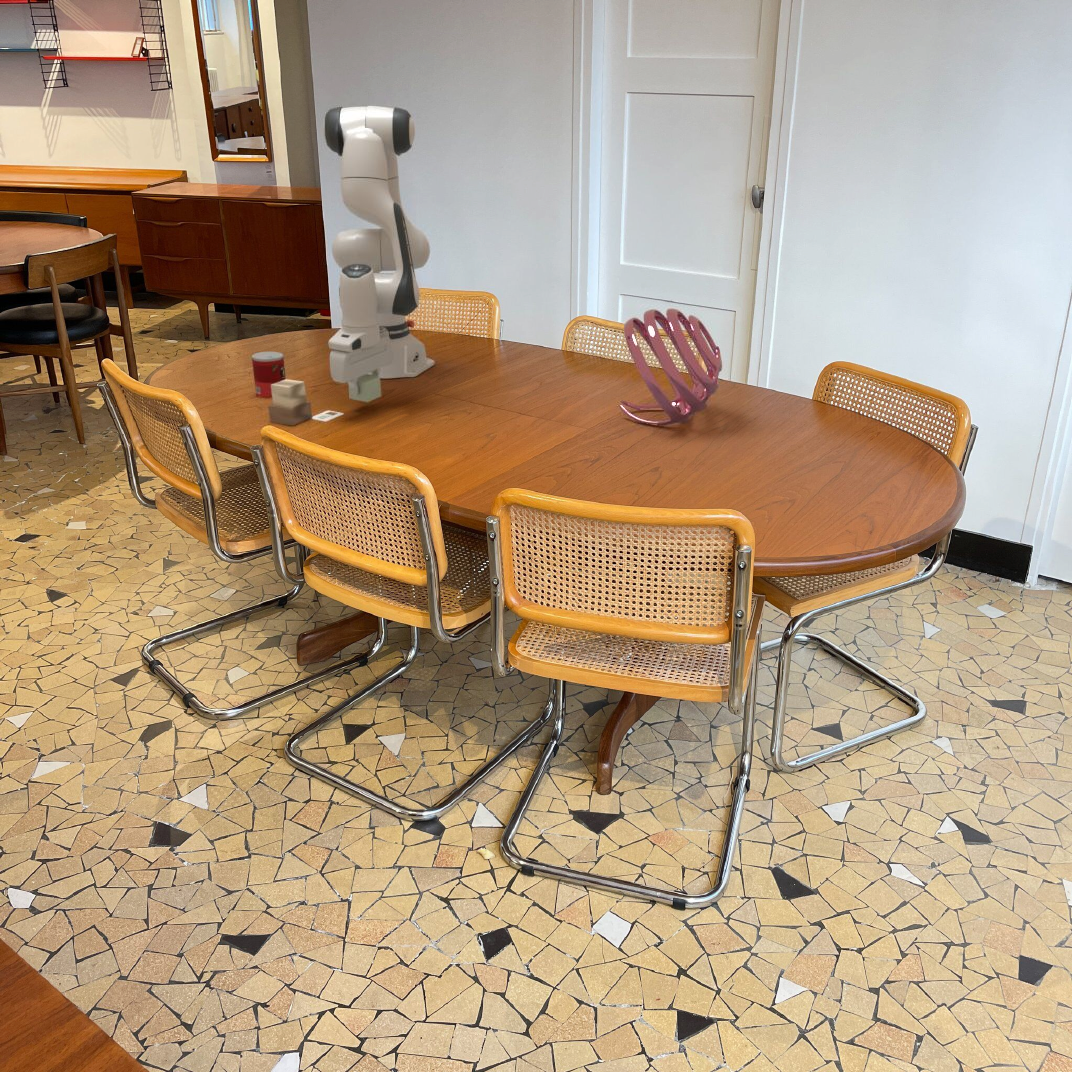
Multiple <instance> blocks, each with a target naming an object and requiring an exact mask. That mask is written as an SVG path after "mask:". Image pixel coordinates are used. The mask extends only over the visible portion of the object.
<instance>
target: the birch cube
mask: <svg viewBox="0 0 1072 1072" xmlns="http://www.w3.org/2000/svg"><path fill="white" fill-rule="evenodd" d="M271 391H272V398H271V399H272V404H273V405H275V406H281V407H287V408H293V407H295V406H298V405H301V404H303V403H306V402H307V401H308V400H307V394H306V385H305V381H302V380H294V379H287V378H286V380H283V381H280V382H277V383H274V384H271Z"/></svg>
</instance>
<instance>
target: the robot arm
mask: <svg viewBox="0 0 1072 1072" xmlns="http://www.w3.org/2000/svg"><path fill="white" fill-rule="evenodd" d="M322 132H323V137H324V140H325V143H326V146H327V147H328V148H329V149H330V150H331V151H332V152H333V153H336V154H337V155H338V157H341V167H340V168H341V169H340V179H341V180H340V186H341V187H340V188H341V189H340V190H341V197H342V202H343V204H344V206H345V208H346V209H347V210H348V211H349V212H350V213H352V215H354V216H355V217H356V218H359V219H361V220H363V221H365V222H368V223H370V224H372V225H375V226H377V227H378V228H352V229H347V230H343V231H339V232H338V233H337V234H336V235H335V237H334V239H333V242H332V244H331V245H332V246H331V252H332V253H331V254H332V257H333V260H334V262H335V263H336V264H337V266H338V267H339V268H341V270H340V274H339V275H340V276H339V286H338V287H339V288H338V293H339V295H338V296H339V305H340V308H341V312H342V316H341V318H342V319H341V328H340V329H338V331H336V333H335V334H334V335H333V336H332V337H331V338H329V340H328V347H329V348H328V349H332V350H330V352H329V353H330V354H329V371H330V376H331V377H330V378H331V379H332V380H333V381H334V382H336V383H341V384H346V383H347V384H349V385H348V387H349V386H350V387H351V393H352V395H358V394H360V393H361V391H360V387H358V386H357V384H356V382H357V378H358V377H360V376H362V375H365V374H370V375H375V376H380V379H398V378H415V377H417V376H418V375H420V374H423V372H425V371H427V370H428V369H429V368H431V367H433V366H434V365H435V360H433V359H431V358H428V357H427V351H426V347H425V344H424V343H423V342H422V341H420V340H419V339H418V338H417V337H415V336H414V335H412V333H411V330H410V328H411V329H413V328H415V327H416V322H415V320H411V319H407V320H406V316H409V315H411V314H412V313H413V312H414V311H415V310H416V309H417V308H419V304H420V295H421V294H420V289H419V285H418V282H417V278H416V273H415V270H417V269H421V268H424V266H425V265H426V264H427V262H428V260H429V257H430V253H431V248H430V247H431V246H430V242H429V240H428V238H427V236H426V235H425V234H424V232H422V231H421V230H420V229H418V228H417V227H416V226H414V224H413V223H412V222H411V221H410V219H408V216H407V215H406V213H405V211H404V208H403V205H402V201H401V193H400V182H399V181H400V180H399V166H398V158H397V156H398V157H399V156H401V155H402V154H405V153H407V152H409V151H410V150H411V149H412V148H413V147H412V146H413V144H414V141H415V138H416V137H415V136H416V127H415V123H414V120H413V117H412V115H411V113H410V112H409V111H408V110H407V109H404V108H400V107H387V106H379V105H378V106H377V105H367V106H351V107H342V106H337V107H333V108H330V109H329V110H328V111H327V112H326V113H325V116H324V120H323V125H322ZM388 272H389V273H388Z"/></svg>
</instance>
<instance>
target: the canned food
mask: <svg viewBox="0 0 1072 1072" xmlns="http://www.w3.org/2000/svg"><path fill="white" fill-rule="evenodd" d="M284 357H285V356H284V353H281V352H278V351H261V352H260V351H259V352H256V353H254V354H252V356H251V361H252V362H251V364H252V371H253V378H254V379H253V380H254V386H255V387H254V388H255V395H256V397H257V398H264V399H265V398H266V399H269V398H270V399H272V391H271V384H274V383H277V382H280V381H283V380H286V379H287V378H286V368H285V361H284V359H285V358H284Z"/></svg>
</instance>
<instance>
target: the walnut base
mask: <svg viewBox="0 0 1072 1072" xmlns="http://www.w3.org/2000/svg"><path fill="white" fill-rule="evenodd" d="M306 401H307V402H306V403H303V404H301V405H298V406H295V407H293V408H287V407H281V406H275V405H273V403H272V404H269V405H267V408H268V415H269V422H270V423H276V424H281V425H284V426H285V425H287V426H292V427H293V426H297V425H298V424H302V422H306V421H308V420H311V419H310V418H312V417H313V411H312V404H311V403H312V402H311V401H308V400H306Z"/></svg>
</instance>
